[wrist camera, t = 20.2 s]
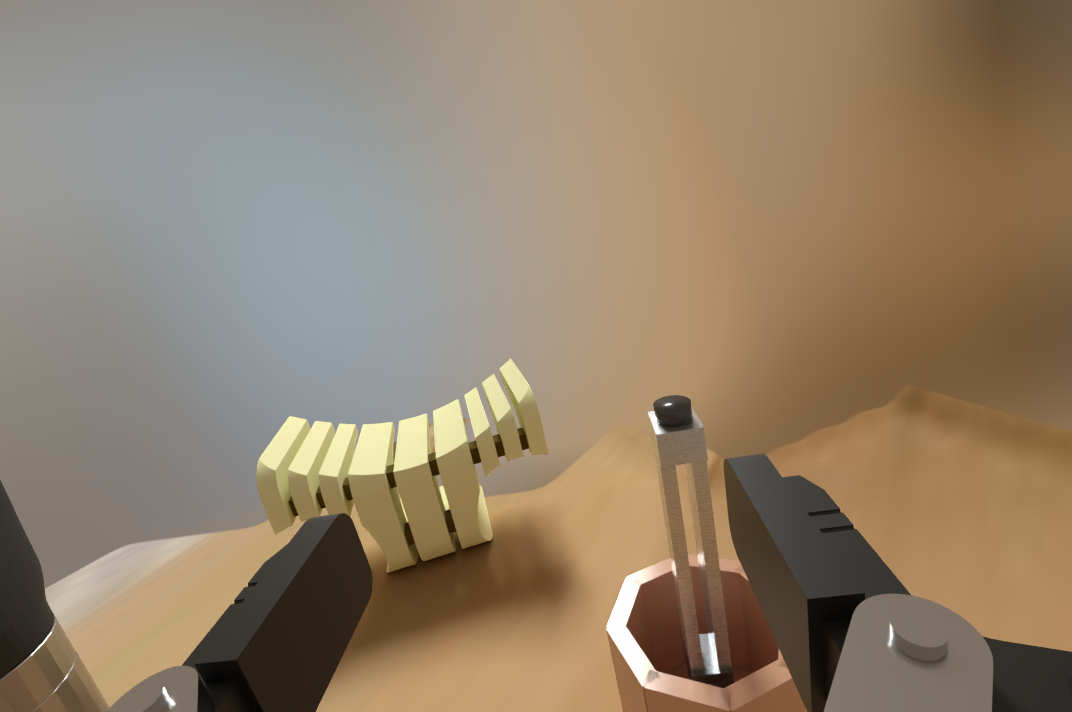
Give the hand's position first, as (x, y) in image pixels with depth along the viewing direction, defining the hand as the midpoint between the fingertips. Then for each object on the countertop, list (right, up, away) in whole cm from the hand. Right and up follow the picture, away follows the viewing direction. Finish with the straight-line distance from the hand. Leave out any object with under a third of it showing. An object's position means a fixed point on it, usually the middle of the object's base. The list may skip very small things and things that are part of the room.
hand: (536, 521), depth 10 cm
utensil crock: (+13, -23, +24) cm, 36 cm away
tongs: (+12, -22, +24) cm, 34 cm away
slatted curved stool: (-13, -19, +54) cm, 59 cm away
